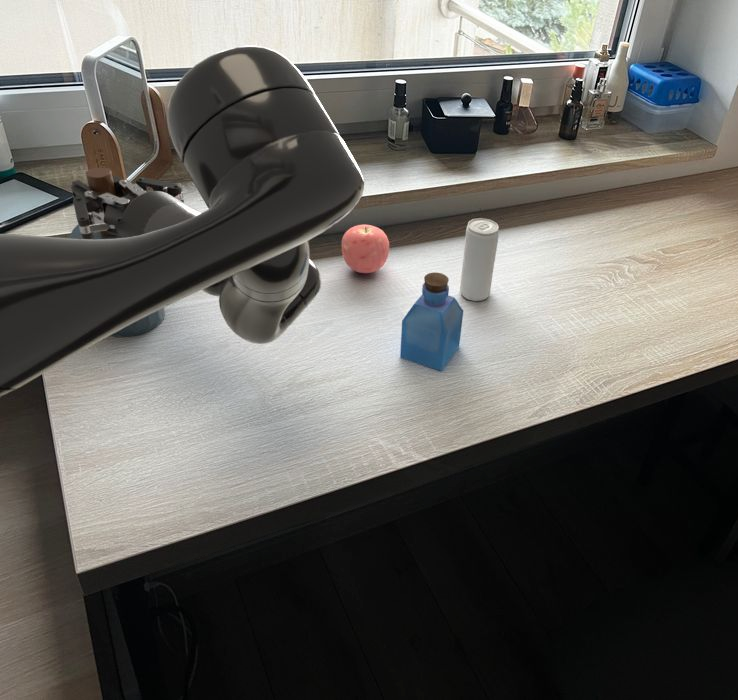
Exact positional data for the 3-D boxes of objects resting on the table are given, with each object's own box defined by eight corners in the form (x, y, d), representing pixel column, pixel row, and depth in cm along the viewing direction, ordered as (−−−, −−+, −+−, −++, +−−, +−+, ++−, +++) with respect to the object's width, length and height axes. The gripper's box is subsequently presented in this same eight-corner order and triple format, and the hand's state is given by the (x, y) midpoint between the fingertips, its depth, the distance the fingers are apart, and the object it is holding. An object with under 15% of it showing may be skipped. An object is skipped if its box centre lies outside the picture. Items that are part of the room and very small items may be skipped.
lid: (89, 266, 87) (71, 197, 81) (61, 233, 92) (41, 166, 86) (167, 244, 92) (155, 178, 86) (136, 214, 97) (122, 149, 92)
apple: (389, 282, 113) (391, 237, 108) (341, 282, 111) (341, 236, 107) (387, 257, 118) (389, 214, 113) (342, 256, 117) (341, 212, 112)
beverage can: (453, 293, 112) (460, 224, 105) (472, 281, 115) (481, 214, 108) (476, 306, 110) (485, 237, 103) (496, 294, 113) (506, 226, 106)
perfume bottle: (400, 357, 99) (404, 283, 91) (419, 333, 103) (424, 261, 96) (441, 371, 97) (448, 297, 90) (459, 346, 102) (467, 274, 94)
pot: (110, 345, 95) (97, 298, 90) (83, 311, 100) (70, 265, 95) (176, 321, 100) (167, 276, 95) (148, 291, 105) (138, 246, 100)
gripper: (222, 186, 84) (135, 140, 91) (109, 227, 75) (23, 171, 82) (229, 242, 88) (146, 194, 96) (124, 287, 79) (41, 229, 87)
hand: (89, 184), depth 89 cm, fingers closed on lid, 3 cm apart
